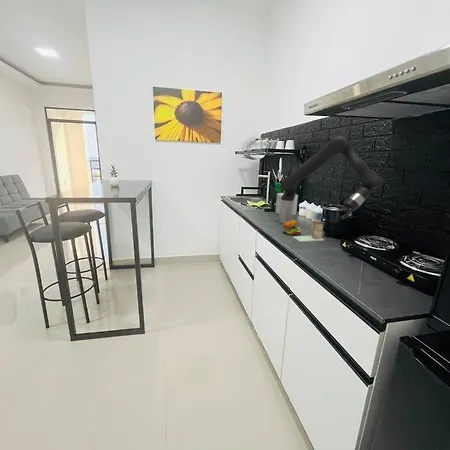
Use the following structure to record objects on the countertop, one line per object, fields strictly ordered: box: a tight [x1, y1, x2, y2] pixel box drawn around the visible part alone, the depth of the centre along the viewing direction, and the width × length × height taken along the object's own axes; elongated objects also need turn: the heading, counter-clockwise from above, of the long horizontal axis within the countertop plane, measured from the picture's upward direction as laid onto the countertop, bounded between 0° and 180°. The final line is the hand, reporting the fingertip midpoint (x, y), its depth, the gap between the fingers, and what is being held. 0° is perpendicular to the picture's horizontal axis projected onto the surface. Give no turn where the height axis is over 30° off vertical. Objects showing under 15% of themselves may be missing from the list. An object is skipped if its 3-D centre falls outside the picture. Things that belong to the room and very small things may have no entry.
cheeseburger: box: [282, 219, 302, 236], centre depth 160 cm, size 10×11×10 cm
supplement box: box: [275, 192, 299, 216], centre depth 219 cm, size 13×13×18 cm
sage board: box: [292, 235, 325, 243], centre depth 151 cm, size 16×9×1 cm, turn 103°
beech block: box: [310, 220, 324, 239], centre depth 151 cm, size 4×4×10 cm
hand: (333, 222), depth 152 cm, fingers closed
